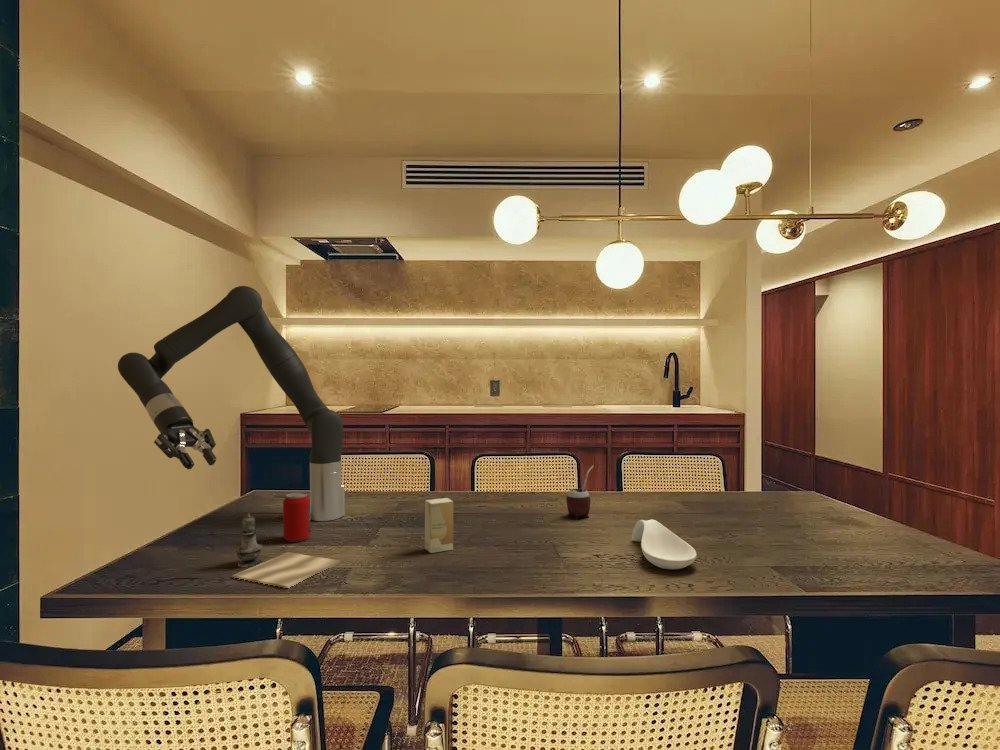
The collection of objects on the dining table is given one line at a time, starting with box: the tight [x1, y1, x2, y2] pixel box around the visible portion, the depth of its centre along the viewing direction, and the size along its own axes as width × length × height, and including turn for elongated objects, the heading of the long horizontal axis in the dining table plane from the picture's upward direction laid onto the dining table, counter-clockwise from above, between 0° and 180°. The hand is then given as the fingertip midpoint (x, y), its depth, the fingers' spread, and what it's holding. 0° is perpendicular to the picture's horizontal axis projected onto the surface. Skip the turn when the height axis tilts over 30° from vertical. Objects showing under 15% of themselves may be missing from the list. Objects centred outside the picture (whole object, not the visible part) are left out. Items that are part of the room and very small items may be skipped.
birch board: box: [231, 551, 341, 589], centre depth 122 cm, size 16×16×1 cm
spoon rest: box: [631, 519, 698, 571], centre depth 127 cm, size 24×12×7 cm, turn 7°
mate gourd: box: [566, 465, 595, 521], centre depth 162 cm, size 8×8×15 cm
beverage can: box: [282, 491, 311, 543], centre depth 144 cm, size 7×7×12 cm
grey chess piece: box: [234, 512, 263, 567], centre depth 126 cm, size 6×6×12 cm
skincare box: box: [424, 497, 454, 554], centre depth 134 cm, size 6×4×12 cm
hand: (202, 464), depth 132 cm, fingers open, 5 cm apart
